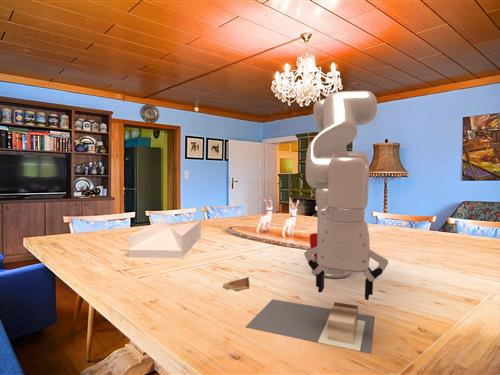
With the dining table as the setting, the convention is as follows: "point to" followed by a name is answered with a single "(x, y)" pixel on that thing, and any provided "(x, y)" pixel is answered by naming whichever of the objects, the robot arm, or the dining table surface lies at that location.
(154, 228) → the hipped roof block
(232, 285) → the shard
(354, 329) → the tan tapered block
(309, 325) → the mat
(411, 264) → the dining table surface
